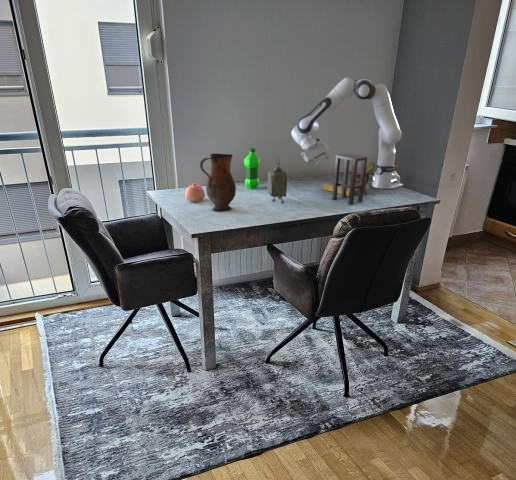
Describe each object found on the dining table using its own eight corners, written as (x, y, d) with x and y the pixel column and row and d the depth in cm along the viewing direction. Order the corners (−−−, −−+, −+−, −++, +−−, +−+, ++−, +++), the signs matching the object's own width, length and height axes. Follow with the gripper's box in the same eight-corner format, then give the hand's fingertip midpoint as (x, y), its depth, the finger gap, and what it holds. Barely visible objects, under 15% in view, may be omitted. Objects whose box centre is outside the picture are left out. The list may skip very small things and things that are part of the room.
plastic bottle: (259, 189, 315) (259, 149, 302) (244, 189, 315) (243, 149, 302) (260, 186, 323) (260, 147, 310) (244, 186, 323) (244, 147, 311)
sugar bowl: (197, 196, 298) (196, 180, 292) (211, 200, 289) (210, 183, 284) (181, 200, 290) (180, 183, 285) (195, 204, 282) (194, 187, 277)
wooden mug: (374, 193, 307) (378, 164, 297) (357, 195, 302) (360, 166, 292) (366, 190, 314) (369, 162, 304) (349, 192, 309) (352, 163, 299)
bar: (326, 188, 318) (326, 184, 316) (352, 195, 301) (352, 190, 300) (323, 189, 316) (323, 184, 315) (348, 196, 300) (349, 191, 298)
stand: (343, 196, 299) (347, 153, 285) (362, 201, 288) (367, 157, 274) (332, 199, 294) (335, 154, 280) (350, 204, 283) (355, 158, 269)
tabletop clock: (286, 204, 283) (287, 160, 270) (271, 204, 282) (272, 160, 269) (281, 198, 295) (282, 156, 282) (267, 198, 294) (267, 156, 281)
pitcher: (242, 209, 272) (241, 154, 256) (211, 216, 261) (208, 159, 245) (226, 203, 283) (224, 150, 268) (195, 209, 272) (191, 154, 256)
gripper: (300, 148, 307) (314, 163, 306) (321, 137, 316) (335, 151, 314) (297, 155, 313) (311, 170, 311) (318, 144, 321) (331, 158, 320)
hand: (323, 160), depth 313 cm, fingers open, 8 cm apart
